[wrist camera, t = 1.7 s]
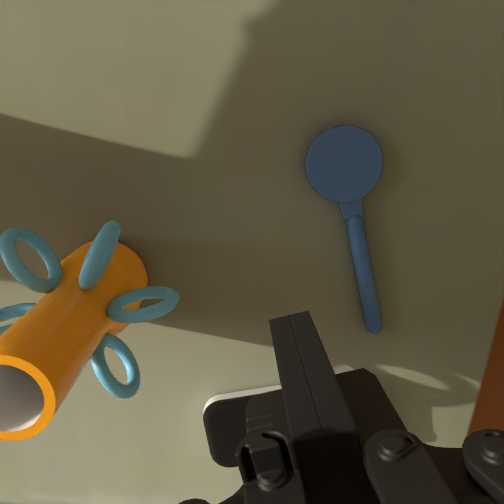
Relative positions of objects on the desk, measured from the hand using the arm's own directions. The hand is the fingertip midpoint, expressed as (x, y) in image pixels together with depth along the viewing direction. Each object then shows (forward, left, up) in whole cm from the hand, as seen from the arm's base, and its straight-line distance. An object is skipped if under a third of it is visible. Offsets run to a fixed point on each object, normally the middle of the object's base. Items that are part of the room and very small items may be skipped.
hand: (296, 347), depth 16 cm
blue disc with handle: (+1, +7, -16) cm, 17 cm away
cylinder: (0, -12, -16) cm, 20 cm away
